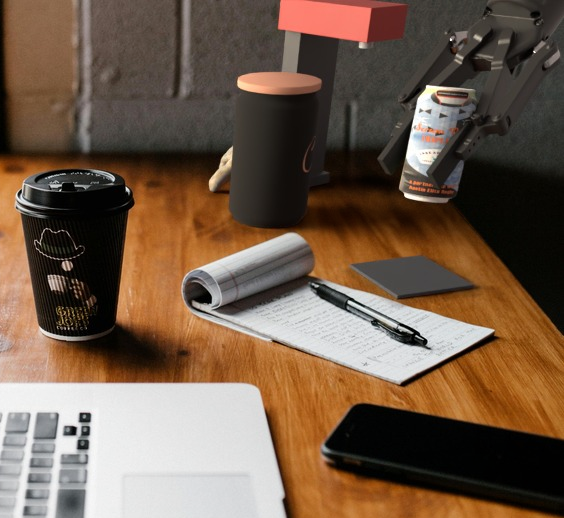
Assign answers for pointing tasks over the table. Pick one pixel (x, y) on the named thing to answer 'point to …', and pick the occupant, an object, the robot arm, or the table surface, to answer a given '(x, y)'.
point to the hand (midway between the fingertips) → (408, 173)
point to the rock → (222, 172)
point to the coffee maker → (332, 47)
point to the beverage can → (435, 140)
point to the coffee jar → (273, 148)
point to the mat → (410, 276)
